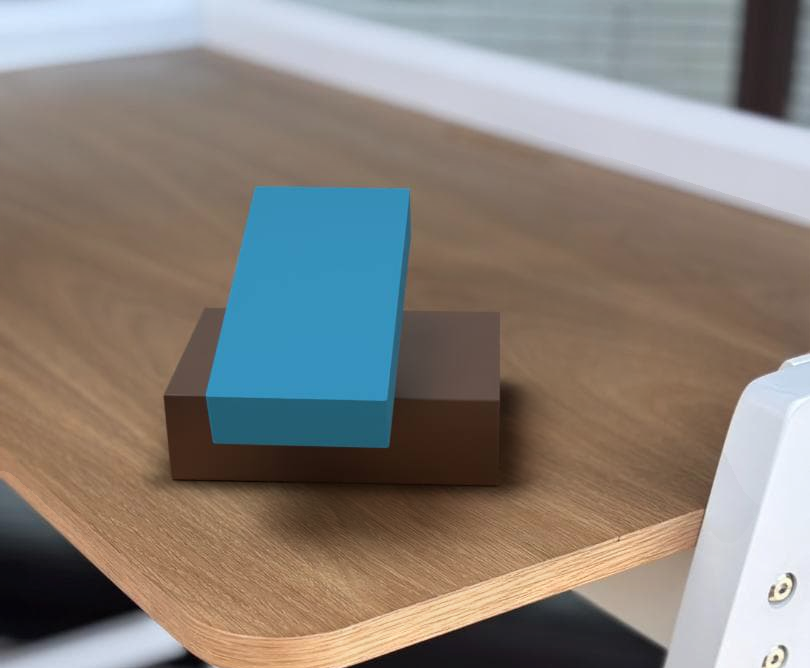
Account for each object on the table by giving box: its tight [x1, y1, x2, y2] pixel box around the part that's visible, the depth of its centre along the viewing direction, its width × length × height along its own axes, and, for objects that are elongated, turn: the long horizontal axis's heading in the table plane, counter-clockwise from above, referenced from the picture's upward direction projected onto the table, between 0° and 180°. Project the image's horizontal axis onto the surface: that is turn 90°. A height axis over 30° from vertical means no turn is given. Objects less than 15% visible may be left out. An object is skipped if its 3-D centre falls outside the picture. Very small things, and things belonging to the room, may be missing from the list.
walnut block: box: [162, 307, 501, 486], centre depth 67 cm, size 14×10×4 cm
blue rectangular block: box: [206, 185, 412, 448], centre depth 65 cm, size 7×7×18 cm
